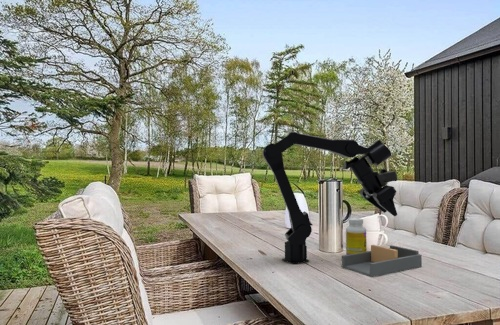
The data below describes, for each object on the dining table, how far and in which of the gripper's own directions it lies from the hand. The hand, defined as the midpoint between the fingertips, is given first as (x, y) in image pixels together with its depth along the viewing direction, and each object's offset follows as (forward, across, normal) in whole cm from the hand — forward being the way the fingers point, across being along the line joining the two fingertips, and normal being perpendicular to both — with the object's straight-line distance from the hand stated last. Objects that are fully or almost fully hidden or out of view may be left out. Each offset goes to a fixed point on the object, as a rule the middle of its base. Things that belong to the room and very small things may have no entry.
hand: (390, 213), depth 128 cm
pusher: (+9, -9, +12) cm, 17 cm away
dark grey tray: (+9, -9, +13) cm, 19 cm away
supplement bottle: (+7, +3, +17) cm, 19 cm away
